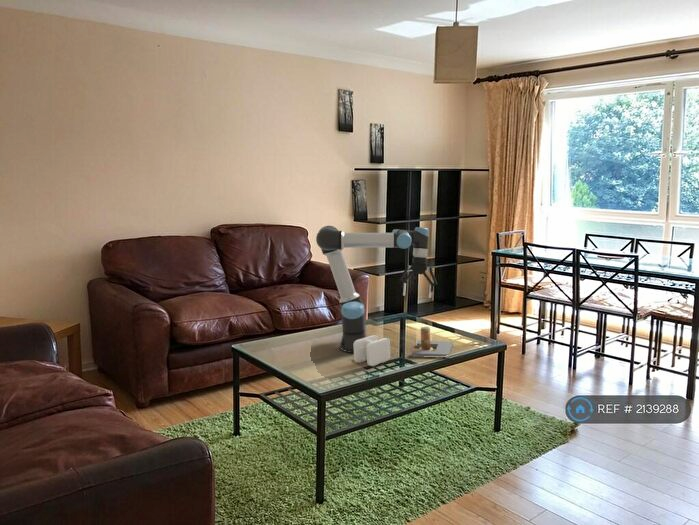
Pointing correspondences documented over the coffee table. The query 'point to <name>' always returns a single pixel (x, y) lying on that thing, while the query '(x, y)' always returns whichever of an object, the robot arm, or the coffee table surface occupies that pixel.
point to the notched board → (441, 347)
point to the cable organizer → (372, 350)
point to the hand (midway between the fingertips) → (416, 296)
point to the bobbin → (425, 339)
